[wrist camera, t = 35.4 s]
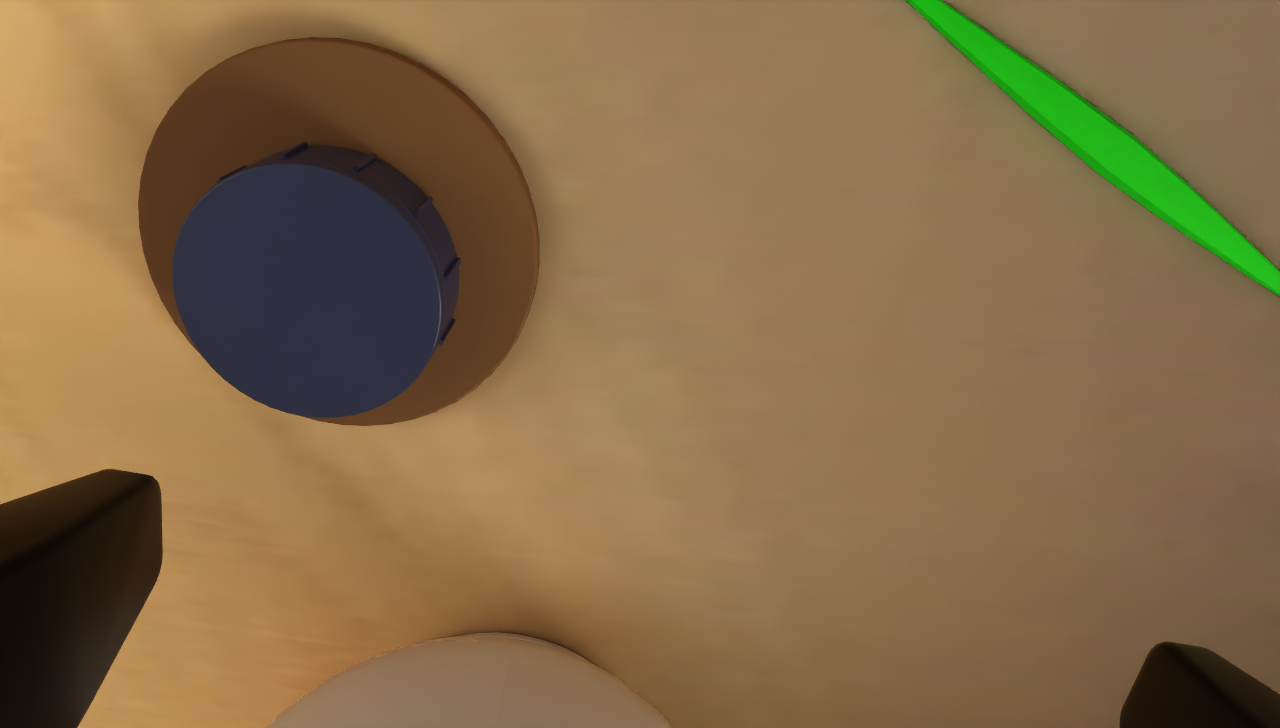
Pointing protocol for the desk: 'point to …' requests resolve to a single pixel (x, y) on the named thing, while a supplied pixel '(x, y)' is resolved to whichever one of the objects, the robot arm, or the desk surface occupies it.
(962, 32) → the leaf
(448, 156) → the coaster
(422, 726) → the lidded bowl
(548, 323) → the desk surface
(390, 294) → the jar lid
